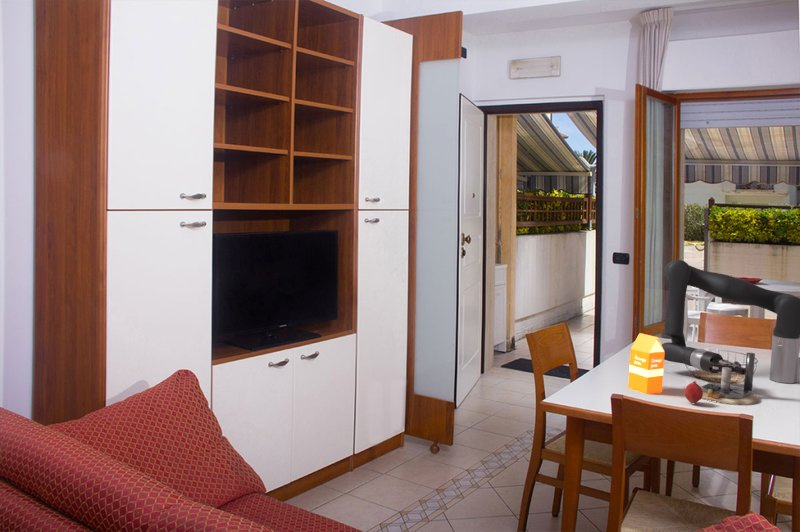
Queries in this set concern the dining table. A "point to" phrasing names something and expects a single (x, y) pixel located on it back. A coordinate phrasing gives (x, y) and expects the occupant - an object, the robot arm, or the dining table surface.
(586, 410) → the dining table surface
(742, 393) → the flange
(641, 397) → the dining table surface
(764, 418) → the dining table surface
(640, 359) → the orange juice
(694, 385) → the onion
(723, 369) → the post stand
